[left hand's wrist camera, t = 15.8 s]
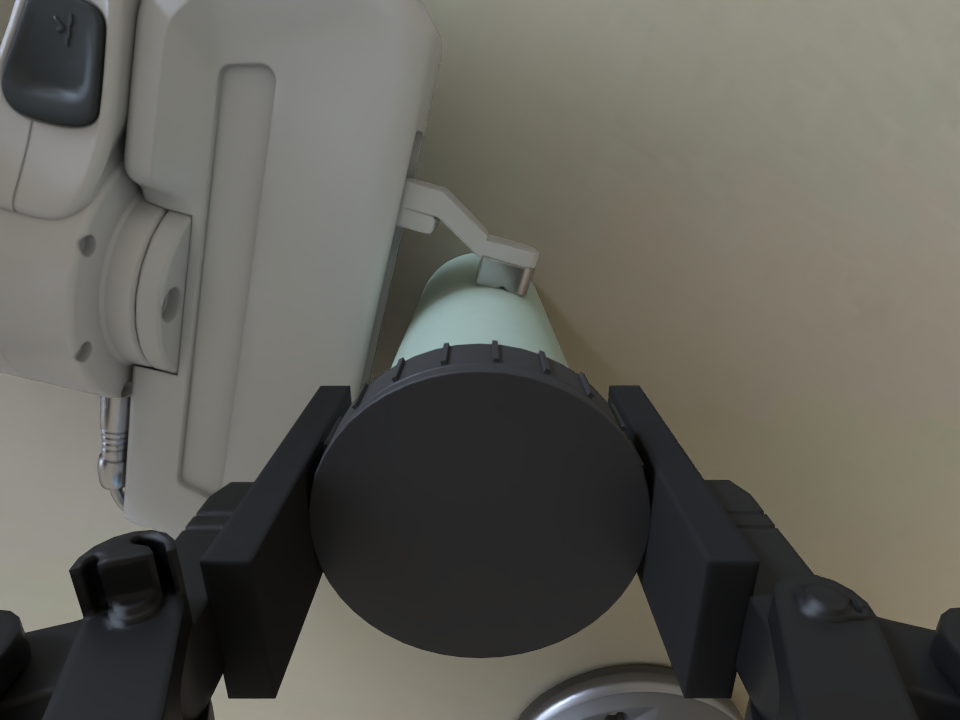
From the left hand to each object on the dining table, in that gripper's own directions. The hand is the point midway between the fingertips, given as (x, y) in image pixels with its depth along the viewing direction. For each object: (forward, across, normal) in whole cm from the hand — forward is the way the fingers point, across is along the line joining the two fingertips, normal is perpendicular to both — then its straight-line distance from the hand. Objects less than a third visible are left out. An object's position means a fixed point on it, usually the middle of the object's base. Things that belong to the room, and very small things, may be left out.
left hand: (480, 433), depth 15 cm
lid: (-4, 0, 0) cm, 4 cm away
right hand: (+6, -1, 0) cm, 6 cm away
